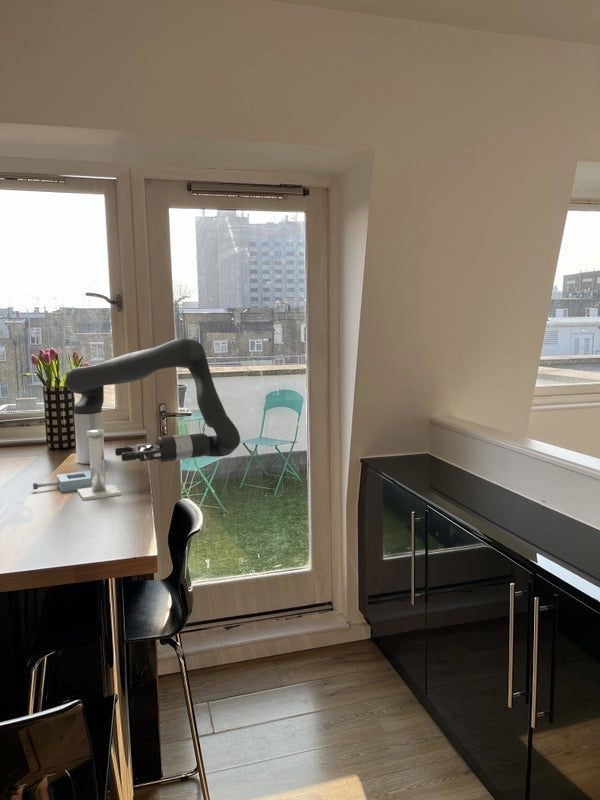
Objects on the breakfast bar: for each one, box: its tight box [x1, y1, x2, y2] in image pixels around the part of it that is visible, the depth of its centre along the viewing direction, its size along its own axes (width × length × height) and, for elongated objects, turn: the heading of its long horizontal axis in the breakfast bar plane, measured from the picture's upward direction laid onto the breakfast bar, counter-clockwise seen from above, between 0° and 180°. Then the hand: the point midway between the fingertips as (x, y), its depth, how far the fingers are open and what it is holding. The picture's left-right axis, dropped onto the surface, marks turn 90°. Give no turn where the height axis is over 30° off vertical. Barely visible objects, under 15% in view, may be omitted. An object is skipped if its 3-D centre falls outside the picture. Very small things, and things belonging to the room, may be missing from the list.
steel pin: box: [87, 429, 107, 492], centre depth 174 cm, size 5×5×17 cm
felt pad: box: [76, 484, 122, 501], centre depth 175 cm, size 10×10×1 cm
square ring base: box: [32, 470, 92, 493], centre depth 182 cm, size 10×17×3 cm, turn 119°
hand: (118, 454), depth 176 cm, fingers open, 8 cm apart
